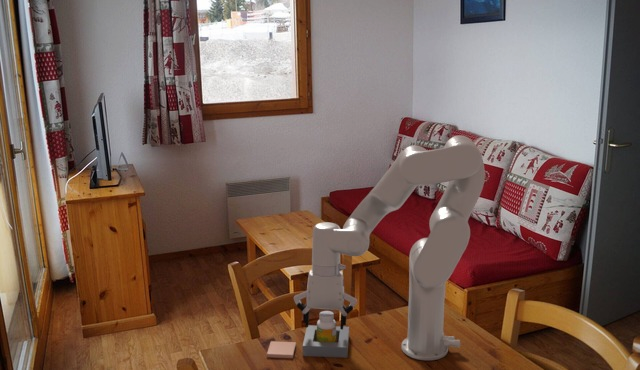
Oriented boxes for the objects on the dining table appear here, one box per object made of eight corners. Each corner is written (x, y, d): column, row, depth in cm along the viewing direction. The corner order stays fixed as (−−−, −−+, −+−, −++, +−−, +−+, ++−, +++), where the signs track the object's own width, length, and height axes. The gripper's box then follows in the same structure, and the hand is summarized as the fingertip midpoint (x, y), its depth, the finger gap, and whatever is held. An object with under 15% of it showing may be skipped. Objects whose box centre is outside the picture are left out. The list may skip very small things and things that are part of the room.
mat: (295, 345, 180) (295, 342, 180) (292, 358, 173) (292, 354, 173) (271, 344, 180) (270, 341, 180) (267, 357, 174) (266, 353, 173)
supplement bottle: (313, 347, 178) (313, 315, 176) (322, 339, 183) (322, 308, 181) (330, 352, 176) (330, 319, 174) (339, 343, 181) (339, 312, 178)
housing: (348, 336, 185) (349, 326, 184) (347, 357, 173) (347, 347, 173) (307, 334, 186) (307, 325, 185) (302, 355, 174) (302, 345, 174)
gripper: (358, 264, 177) (356, 321, 181) (295, 261, 178) (295, 318, 182) (357, 275, 170) (355, 334, 174) (292, 272, 171) (291, 330, 175)
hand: (324, 326), depth 178 cm, fingers open, 9 cm apart
